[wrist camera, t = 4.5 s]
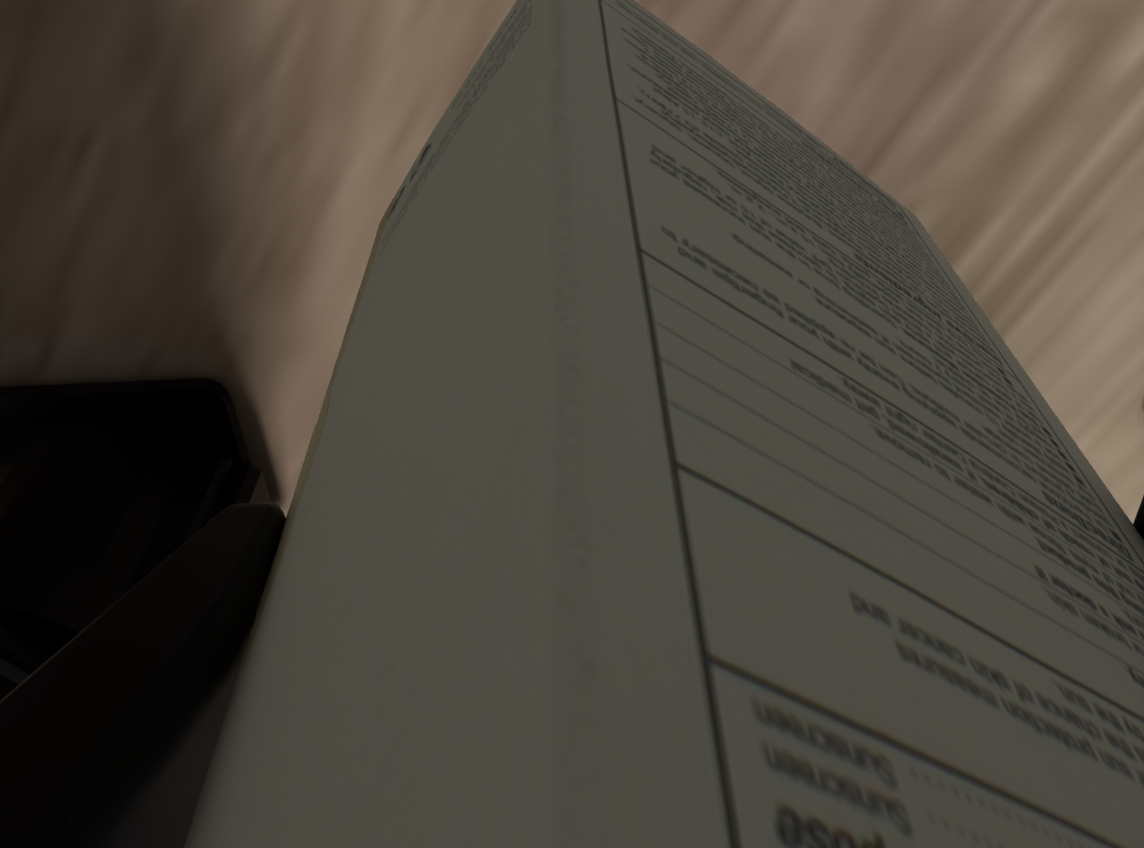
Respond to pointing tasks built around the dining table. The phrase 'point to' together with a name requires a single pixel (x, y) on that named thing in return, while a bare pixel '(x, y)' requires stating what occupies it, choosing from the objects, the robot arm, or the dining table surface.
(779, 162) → the skincare box
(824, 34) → the dining table surface
